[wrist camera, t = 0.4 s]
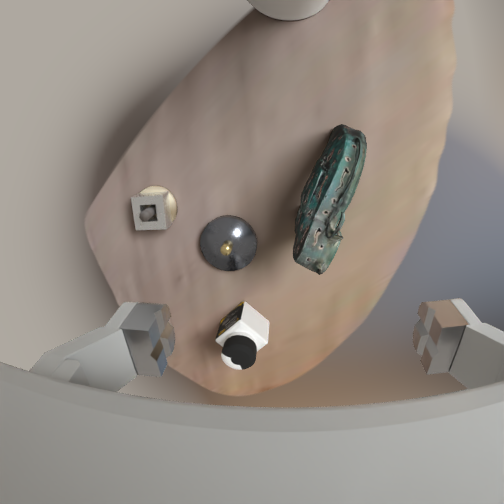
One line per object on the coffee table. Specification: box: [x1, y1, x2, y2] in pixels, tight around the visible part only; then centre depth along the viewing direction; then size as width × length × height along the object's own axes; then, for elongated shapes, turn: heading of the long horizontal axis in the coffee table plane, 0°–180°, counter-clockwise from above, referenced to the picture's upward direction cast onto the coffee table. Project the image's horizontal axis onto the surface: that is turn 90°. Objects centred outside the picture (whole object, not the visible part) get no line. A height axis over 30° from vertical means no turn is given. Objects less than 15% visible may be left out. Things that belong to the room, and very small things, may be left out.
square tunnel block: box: [131, 191, 172, 230], centre depth 55 cm, size 6×6×3 cm
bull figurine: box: [293, 124, 367, 275], centre depth 43 cm, size 20×6×20 cm, turn 161°
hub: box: [200, 215, 257, 271], centre depth 57 cm, size 10×10×4 cm
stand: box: [139, 186, 177, 222], centre depth 54 cm, size 8×8×6 cm
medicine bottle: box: [216, 301, 269, 370], centre depth 59 cm, size 7×7×12 cm
